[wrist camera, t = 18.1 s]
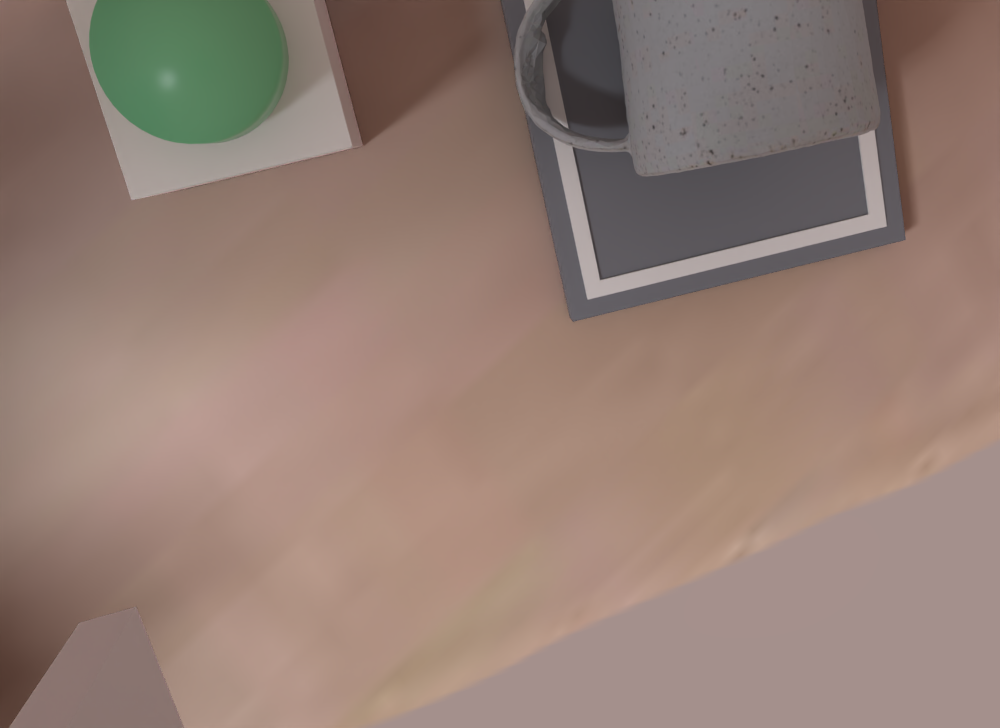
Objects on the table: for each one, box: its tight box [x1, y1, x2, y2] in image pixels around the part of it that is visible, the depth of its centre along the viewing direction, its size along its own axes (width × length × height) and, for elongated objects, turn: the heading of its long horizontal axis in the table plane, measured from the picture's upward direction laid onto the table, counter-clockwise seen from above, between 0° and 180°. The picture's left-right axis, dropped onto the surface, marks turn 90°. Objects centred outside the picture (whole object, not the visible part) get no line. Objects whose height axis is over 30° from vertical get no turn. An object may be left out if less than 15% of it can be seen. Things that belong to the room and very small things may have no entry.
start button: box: [89, 0, 289, 144], centre depth 26 cm, size 5×5×2 cm
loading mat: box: [501, 0, 906, 321], centre depth 34 cm, size 13×15×1 cm
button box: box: [66, 0, 363, 200], centre depth 30 cm, size 7×7×5 cm
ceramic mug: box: [514, 0, 880, 176], centre depth 29 cm, size 11×8×8 cm
